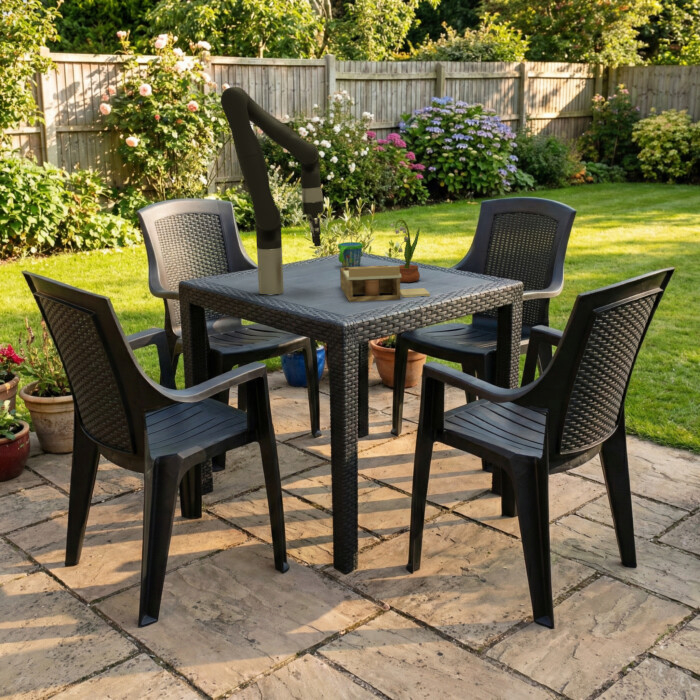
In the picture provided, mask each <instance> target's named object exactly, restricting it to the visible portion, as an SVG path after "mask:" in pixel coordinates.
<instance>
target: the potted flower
mask: <svg viewBox="0 0 700 700" xmlns="http://www.w3.org/2000/svg"><path fill="white" fill-rule="evenodd" d="M400 222H401V223H400ZM394 223H395V224H394ZM398 223H400V226H399V228H395V230H394V233H395V234H396V235H397V234H399V233H401V231H402V234H405V235H404V238H403V242H402V243H400V247H399V248H398V253H403V252H404V253H403V257H404V259H405V260H404V261H405V264H401V265H398V266H399V267H400V274H401V278H400V283H414V282H417V281H419V279H420V278H421V274H420V272H419V266H418V265H415V264H411V261H412V258H413V256H414V255H413V254H414V252H415V251H416V247H417V244H418V240H419V237H420V230H421V228H420V227H419V228H418V229H417V230H416V234H415V238H414V239H413V242H412V244H411V236H410V230H409V227H408V224H407V222H406V221H405V220H404V219H403V217H399V219H398V220H396V222H395V221H394V222H393V223H391V224H390V227H391V228H394V227H397V225H398ZM404 243H405V247H404V251H403V248H402V245H403V244H404Z"/></svg>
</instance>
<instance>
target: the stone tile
mask: <svg viewBox="0 0 700 700" xmlns="http://www.w3.org/2000/svg"><path fill="white" fill-rule="evenodd" d="M416 296H417V297H416ZM418 296H426V297H431V293H430V292H429V291H428V290H427V289H426V288H425V287H424V288H423V287H421V288H403V289H402V288H400V297H401V298H403V297H405V298H419V297H418Z"/></svg>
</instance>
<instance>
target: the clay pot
mask: <svg viewBox="0 0 700 700" xmlns="http://www.w3.org/2000/svg"><path fill="white" fill-rule="evenodd" d="M364 282H365V294H364V296H380V293H379V282H380V279H364Z"/></svg>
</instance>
